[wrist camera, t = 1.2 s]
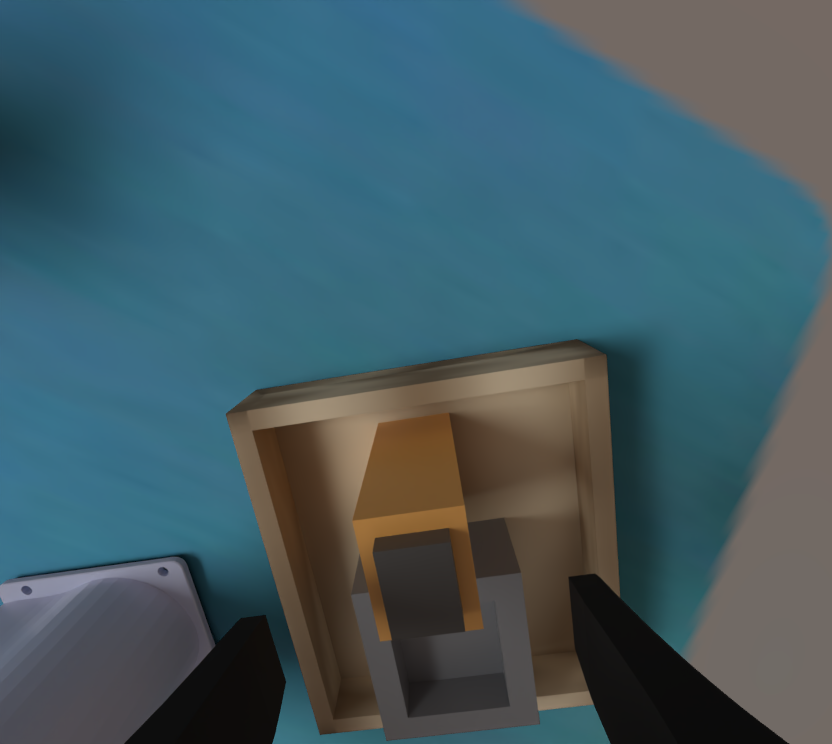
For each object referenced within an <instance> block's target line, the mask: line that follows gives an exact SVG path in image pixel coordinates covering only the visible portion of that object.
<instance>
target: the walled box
mask: <svg viewBox="0 0 832 744" xmlns="http://www.w3.org/2000/svg"><path fill="white" fill-rule="evenodd" d="M442 413H449V416H450V422H451V428H452V434H453V440H454V446H455V452H456V457H457V463H458V469H459V475H460V481H461V487H462V493H463V499H464V505H465V511H466V518H467V522H475V521H482V520H489V519H497V518H504V519H505V523H506V526H507V529H508V532H509V535H510V539H511V542H512V545H513V548H514V551H515V555H516V558H517V561H518V564H519V567H520V570H521V575H522V583H523V591H524V599H525V607H526V616H527V624H528V632H529V640H530V648H531V656H532V664H533V672H534V680H535V689H536V697H537V705H538V711H539V710H548V709H557V708H566V707H575V706H584V705H593V701H592V699H591V696H590V693H589V690H588V687H587V684H586V681H585V678H584V675H583V672H582V669H581V666H580V663H579V660H578V656H577V653H576V650H575V645H574V634H573V623H572V612H571V601H570V590H569V579H568V577H570V576H578V575H586V574H594V573H595V574H597V575H598V576H599V577H601V579H602V580H603V581H604V582H605V583H606V584H607V585H608V586H609V587H610V588H611V589H612V590H613V591H614V592H615V593H616V594H617V595H618V596H619V597H620V586H619V568H618V551H617V533H616V515H615V497H614V479H613V462H612V444H611V426H610V408H609V390H608V373H607V355H606V354H604V353H602V352H600V351H598V350H596V349H594V348H593V347H591V346H589V345H587V344H585V343H583V342H581V341H579V340H577V339H576V340H570V341H564V342H557V343H551V344H545V345H538V346H532V347H526V348H519V349H513V350H507V351H500V352H494V353H488V354H481V355H475V356H469V357H462V358H456V359H450V360H443V361H437V362H431V363H424V364H418V365H412V366H405V367H399V368H393V369H386V370H380V371H374V372H367V373H361V374H355V375H348V376H342V377H336V378H330V379H323V380H317V381H311V382H304V383H298V384H292V385H285V386H279V387H273V388H266V389H260V390H255V391H254V392H253V393H252V394H250V395H249V396H248V397H247V398H245V399H244V400H243V401H241V402H240V403H239V404H238V405H236V406H235V407H234V408H233V409H231V410H230V411H229V412H228V413H226V417H227V420H228V424H229V427H230V430H231V434H232V437H233V441H234V444H235V447H236V451H237V454H238V458H239V461H240V464H241V468H242V471H243V475H244V478H245V481H246V485H247V488H248V492H249V495H250V498H251V502H252V505H253V508H254V512H255V515H256V519H257V522H258V525H259V529H260V532H261V536H262V539H263V542H264V546H265V549H266V553H267V556H268V559H269V563H270V566H271V570H272V573H273V576H274V580H275V583H276V587H277V590H278V593H279V597H280V600H281V604H282V607H283V610H284V614H285V617H286V621H287V624H288V627H289V631H290V634H291V638H292V641H293V644H294V648H295V651H296V654H297V658H298V661H299V665H300V668H301V671H302V675H303V678H304V682H305V685H306V688H307V692H308V695H309V699H310V702H311V705H312V709H313V712H314V716H315V719H316V722H317V726H318V729H319V733H320V735H322V734H331V733H340V732H349V731H358V730H367V729H377V728H383V724H382V720H381V716H380V712H379V708H378V704H377V700H376V695H375V691H374V687H373V683H372V679H371V675H370V671H369V667H368V663H367V659H366V655H365V650H364V646H363V642H362V638H361V634H360V630H359V626H358V622H357V618H356V614H355V609H354V605H353V601H352V597H351V592H352V587H353V583H354V578H355V573H356V568H357V564H358V559H359V554H360V553H359V548H358V544H357V540H356V535H355V531H354V527H353V522H352V520H353V516H354V512H355V508H356V505H357V501H358V497H359V493H360V490H361V486H362V482H363V478H364V475H365V471H366V467H367V464H368V460H369V456H370V452H371V449H372V445H373V441H374V437H375V434H376V430H377V426H378V423H383V422H389V421H396V420H403V419H409V418H416V417H422V416H429V415H436V414H442Z"/></svg>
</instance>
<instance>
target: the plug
mask: <svg viewBox="0 0 832 744" xmlns="http://www.w3.org/2000/svg"><path fill="white" fill-rule="evenodd" d="M352 522H353V527H354V531H355V535H356V540H357V544H358V548H359V553H360V557H361V561H362V566H363V570H364V574H365V579H366V583H367V587H368V592H369V596H370V600H371V605H372V609H373V613H374V618H375V622H376V626H377V631H378V635H379V639H380V642H381V641H389V640H392V641H394V640H402V639H410V638H418V637H426V636H434V635H443V634H451V633H459V632H465V631H471V630H479V629H484V627H483V621H482V614H481V608H480V601H479V595H478V588H477V582H476V576H475V569H474V563H473V556H472V550H471V543H470V537H469V530H468V524H467V518H466V511H465V505H464V499H463V493H462V487H461V481H460V475H459V469H458V463H457V457H456V452H455V446H454V440H453V434H452V428H451V422H450V416H449V413H442V414H436V415H429V416H422V417H416V418H409V419H403V420H396V421H389V422H383V423H378V426H377V430H376V434H375V437H374V441H373V445H372V449H371V452H370V456H369V460H368V464H367V467H366V471H365V475H364V478H363V482H362V486H361V490H360V493H359V497H358V501H357V505H356V508H355V512H354V516H353V520H352Z"/></svg>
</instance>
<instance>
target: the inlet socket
mask: <svg viewBox="0 0 832 744" xmlns="http://www.w3.org/2000/svg"><path fill="white" fill-rule="evenodd" d="M467 524H468V530H469V537H470V543H471V550H472V556H473V563H474V569H475V576H476V582H477V588H478V595H479V601H480V608H481V614H482V621H483V627H484V629H479V630H471V631H465V632H459V633H451V634H443V635H434V636H426V637H418V638H410V639H402V640H394V641H392V640H389V641H381V642H380V639H379V635H378V631H377V626H376V622H375V618H374V613H373V609H372V605H371V600H370V596H369V592H368V587H367V583H366V579H365V574H364V570H363V566H362V561H361V557H360V554H359V559H358V564H357V568H356V573H355V578H354V583H353V587H352V592H351V597H352V601H353V605H354V609H355V614H356V618H357V622H358V626H359V630H360V634H361V638H362V642H363V646H364V650H365V655H366V659H367V663H368V667H369V671H370V675H371V679H372V683H373V687H374V691H375V695H376V700H377V704H378V708H379V712H380V716H381V720H382V724H383V728H384V732H385V736H386V741H389V740H398V739H408V738H417V737H426V736H435V735H444V734H453V733H463V732H472V731H481V730H490V729H499V728H508V727H518V726H527V725H536V724H540V721H539V713H538V705H537V697H536V689H535V680H534V672H533V664H532V656H531V648H530V640H529V632H528V624H527V616H526V607H525V599H524V591H523V583H522V575H521V570H520V567H519V564H518V561H517V558H516V555H515V551H514V548H513V545H512V542H511V539H510V535H509V532H508V529H507V526H506V523H505V519H504V518H497V519H489V520H482V521H475V522H467Z"/></svg>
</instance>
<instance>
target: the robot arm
mask: <svg viewBox="0 0 832 744" xmlns="http://www.w3.org/2000/svg"><path fill="white" fill-rule="evenodd" d="M163 567H164V568H166V569H167V570H168V571H167V570H165V569H164V568H163ZM568 579H569V590H570V601H571V612H572V623H573V634H574V645H575V650H576V653H577V656H578V660H579V663H580V666H581V669H582V672H583V675H584V678H585V681H586V684H587V687H588V690H589V693H590V696H591V699H592V701H593V704H594V706H595V708H596V711H597V713H598V715H599V718H600V720H601V722H602V725H603V727H604V729H605V732H606V734H607V736H608V738H609V741H610V743H611V744H789V743H787V742H786V741H784V740H783V739H782V738H781V737H779V736H778V735H776V734H775V733H774V732H773V731H771V730H770V729H769V728H768V727H766V726H765V725H764V724H762V723H761V722H760V721H758V720H757V719H756V718H754V717H753V716H752V715H750V714H749V713H748V712H747V711H745V710H744V709H743V708H742V707H740V706H739V705H738V704H737V703H736V702H734V701H733V700H732V699H731V698H729V697H728V696H727V695H726V694H724V693H723V692H722V691H721V690H720V689H719V688H717V687H716V686H715V685H714V684H713V683H711V682H710V681H709V680H708V679H707V678H706V677H704V676H703V675H702V674H701V673H700V672H698V671H697V670H696V669H695V668H694V667H693V666H691V665H690V664H689V663H688V662H687V661H686V660H685V659H684V658H683V657H681V656H680V655H679V654H678V653H677V652H676V651H675V650H674V649H673V648H672V647H671V646H669V645H668V644H667V643H666V642H665V641H664V640H663V639H662V638H661V637H660V636H659V635H657V634H656V633H655V632H654V631H653V630H652V629H651V628H650V627H649V626H648V625H647V624H646V623H645V622H644V621H643V620H642V619H641V618H640V617H639V616H638V615H637V614H636V613H635V612H634V611H633V610H632V609H631V608H630V607H629V606H628V605H627V604H626V603H625V602H624V601H623V600H622V599H621V598H620V597H619V596H618V595H617V594H616V593H615V592H614V591H613V590H612V589H611V588H610V587H609V586H608V585H607V584H606V583H605V582H604V581H603V580H602V579H601V577H599V576H598V575H597V574H595V573H594V574H586V575H578V576H570V577H568ZM0 597H1V599H2V601H3V603H4V604H3V605H2V606H0V744H272V742H273V739H274V736H275V732H276V727H277V723H278V718H279V714H280V709H281V704H282V699H283V694H284V689H285V684H286V680H285V677H284V674H283V670H282V667H281V664H280V661H279V658H278V654H277V651H276V648H275V645H274V641H273V638H272V635H271V632H270V628H269V625H268V622H267V619H266V615H262V616H254V617H246V618H241V619H240V620H239V621H238V622H237V623H236V624H235V625H234V626H233V627H232V628H231V629H230V630H229V631H228V632H227V634H226V635H225V636H224V637H223V638H222V639H221V640H220V641H219V642H218V643H217V645H216V646H215V643H214V640H213V637H212V634H211V631H210V629H209V626H208V623H207V620H206V617H205V614H204V611H203V609H202V606H201V603H200V600H199V597H198V594H197V592H196V589H195V586H194V583H193V580H192V577H191V574H190V572H189V569H188V566H187V564H186V562H185V561H184V560H183V559H182V558H179V557H169V558H161V559H154V560H147V561H140V562H132V563H125V564H118V565H110V566H103V567H96V568H89V569H81V570H74V571H67V572H59V573H52V574H45V575H37V576H30V577H23V578H16V579H9V580H7V581H5V582H4V583H3V584H1V585H0Z"/></svg>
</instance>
